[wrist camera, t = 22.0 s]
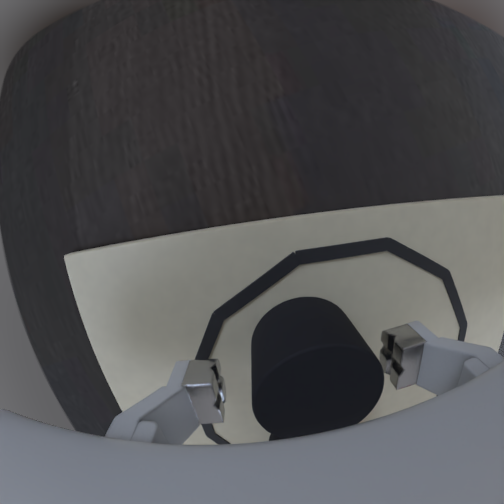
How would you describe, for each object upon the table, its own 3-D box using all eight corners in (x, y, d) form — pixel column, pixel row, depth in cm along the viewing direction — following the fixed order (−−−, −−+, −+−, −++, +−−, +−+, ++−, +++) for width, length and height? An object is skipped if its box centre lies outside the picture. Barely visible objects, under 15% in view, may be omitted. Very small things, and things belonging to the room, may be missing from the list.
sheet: (218, 535, 17) (217, 540, 16) (70, 252, 10) (61, 256, 10) (422, 494, 16) (424, 498, 15) (510, 194, 10) (519, 195, 9)
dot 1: (258, 388, 11) (261, 450, 7) (243, 304, 10) (240, 358, 7) (350, 371, 11) (377, 426, 7) (350, 287, 10) (391, 329, 7)
